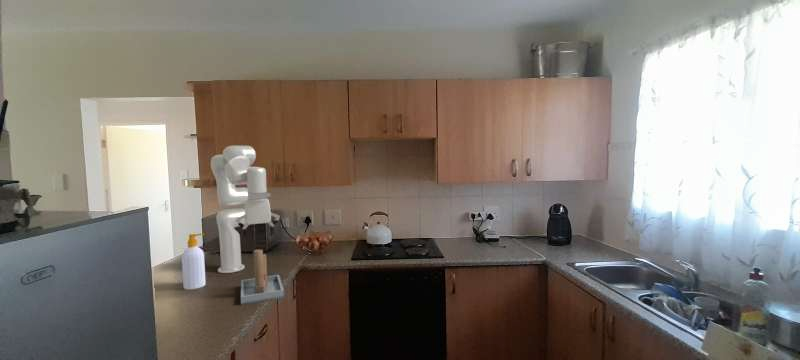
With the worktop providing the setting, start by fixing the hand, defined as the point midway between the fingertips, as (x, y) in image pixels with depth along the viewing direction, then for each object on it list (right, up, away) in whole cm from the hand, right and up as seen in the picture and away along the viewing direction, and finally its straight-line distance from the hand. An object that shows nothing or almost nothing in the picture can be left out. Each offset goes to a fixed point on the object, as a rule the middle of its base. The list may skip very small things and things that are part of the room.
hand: (259, 236), depth 147 cm
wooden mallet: (+1, -23, +1) cm, 23 cm away
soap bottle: (-33, -24, +10) cm, 42 cm away
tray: (+1, -24, +1) cm, 24 cm away
